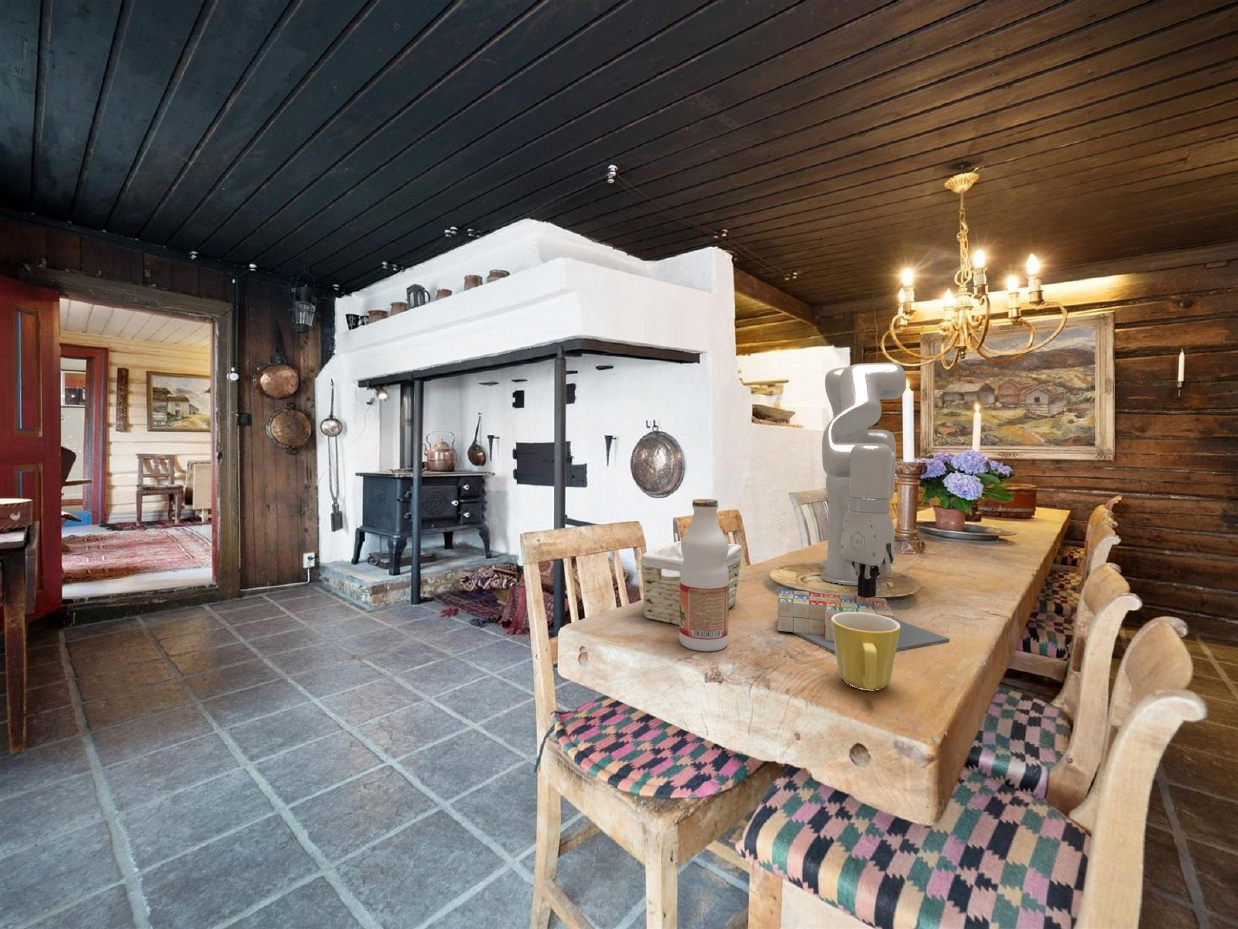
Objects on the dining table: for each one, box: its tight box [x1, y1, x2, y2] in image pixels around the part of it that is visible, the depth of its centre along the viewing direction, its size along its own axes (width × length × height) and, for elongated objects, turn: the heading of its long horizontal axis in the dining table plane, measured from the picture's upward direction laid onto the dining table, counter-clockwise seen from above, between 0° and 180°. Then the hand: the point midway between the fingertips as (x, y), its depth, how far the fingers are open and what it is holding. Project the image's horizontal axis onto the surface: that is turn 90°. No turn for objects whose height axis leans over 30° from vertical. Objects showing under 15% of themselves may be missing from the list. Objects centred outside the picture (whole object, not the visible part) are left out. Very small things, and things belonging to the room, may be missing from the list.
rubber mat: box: [792, 617, 950, 655], centre depth 112 cm, size 15×26×1 cm, turn 112°
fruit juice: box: [678, 498, 730, 652], centre depth 107 cm, size 9×9×28 cm
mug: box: [831, 612, 900, 690], centre depth 89 cm, size 14×10×10 cm
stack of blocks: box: [777, 589, 895, 641], centre depth 113 cm, size 21×6×12 cm
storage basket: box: [640, 540, 742, 625], centre depth 128 cm, size 24×16×15 cm
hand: (866, 596), depth 112 cm, fingers closed
